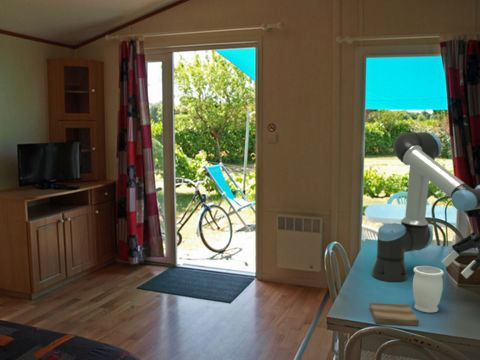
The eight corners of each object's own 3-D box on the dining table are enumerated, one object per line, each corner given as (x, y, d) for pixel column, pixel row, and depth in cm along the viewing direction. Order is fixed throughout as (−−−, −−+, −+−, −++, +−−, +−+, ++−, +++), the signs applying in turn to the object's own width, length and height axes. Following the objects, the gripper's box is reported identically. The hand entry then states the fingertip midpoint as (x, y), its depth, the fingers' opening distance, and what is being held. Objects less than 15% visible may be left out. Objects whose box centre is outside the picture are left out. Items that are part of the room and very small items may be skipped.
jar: (441, 316, 168) (444, 275, 166) (411, 311, 171) (413, 272, 170) (440, 305, 177) (443, 267, 176) (411, 301, 181) (413, 264, 179)
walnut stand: (369, 308, 175) (369, 302, 174) (408, 309, 173) (408, 304, 173) (376, 323, 161) (376, 318, 161) (418, 326, 159) (418, 320, 159)
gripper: (524, 244, 160) (479, 288, 161) (481, 228, 185) (443, 266, 185) (510, 230, 159) (465, 273, 160) (469, 215, 184) (430, 253, 184)
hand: (453, 269), depth 172 cm, fingers open, 13 cm apart
